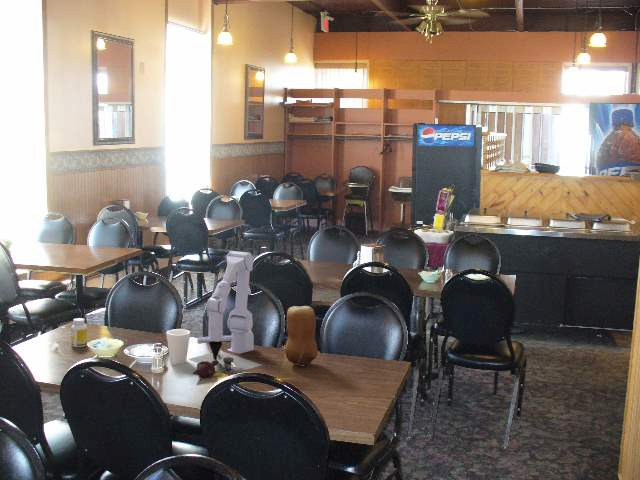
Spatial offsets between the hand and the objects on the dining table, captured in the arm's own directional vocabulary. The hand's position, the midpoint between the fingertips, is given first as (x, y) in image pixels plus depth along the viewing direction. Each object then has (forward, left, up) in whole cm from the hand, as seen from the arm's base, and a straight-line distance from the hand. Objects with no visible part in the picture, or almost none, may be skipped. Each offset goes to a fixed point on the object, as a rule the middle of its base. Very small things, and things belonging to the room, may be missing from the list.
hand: (215, 359), depth 318 cm
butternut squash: (-26, +24, -2) cm, 35 cm away
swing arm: (0, +5, -1) cm, 5 cm away
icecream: (+14, +10, -2) cm, 17 cm away
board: (-4, +2, -2) cm, 5 cm away
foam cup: (+10, -11, -2) cm, 15 cm away
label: (-2, +7, -2) cm, 7 cm away
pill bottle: (+27, -58, -2) cm, 64 cm away
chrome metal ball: (+3, +12, -2) cm, 12 cm away
